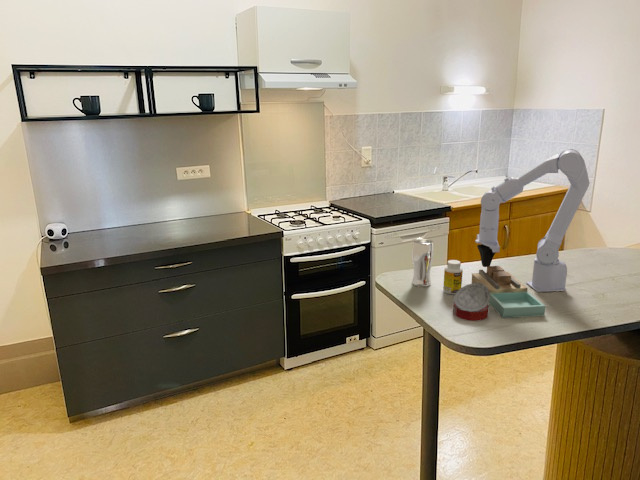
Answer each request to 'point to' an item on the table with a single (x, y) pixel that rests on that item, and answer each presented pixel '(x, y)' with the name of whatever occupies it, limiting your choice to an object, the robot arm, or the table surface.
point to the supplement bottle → (452, 277)
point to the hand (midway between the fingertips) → (485, 266)
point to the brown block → (493, 270)
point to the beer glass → (422, 261)
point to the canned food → (472, 302)
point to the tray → (516, 304)
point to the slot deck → (496, 288)
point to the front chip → (502, 278)
